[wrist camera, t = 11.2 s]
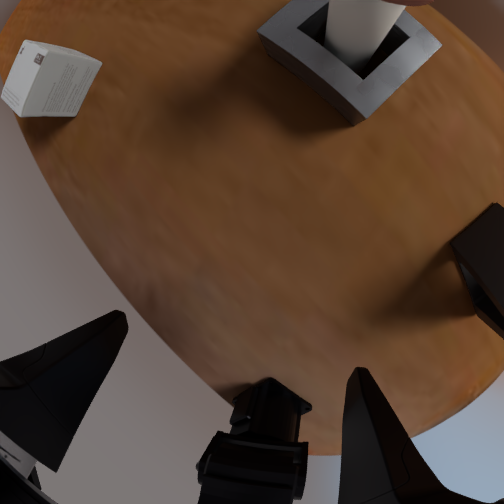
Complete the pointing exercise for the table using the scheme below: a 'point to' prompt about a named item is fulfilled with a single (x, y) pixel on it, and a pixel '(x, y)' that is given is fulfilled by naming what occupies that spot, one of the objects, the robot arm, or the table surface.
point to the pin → (361, 27)
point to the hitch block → (335, 71)
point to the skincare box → (49, 80)
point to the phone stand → (484, 265)
